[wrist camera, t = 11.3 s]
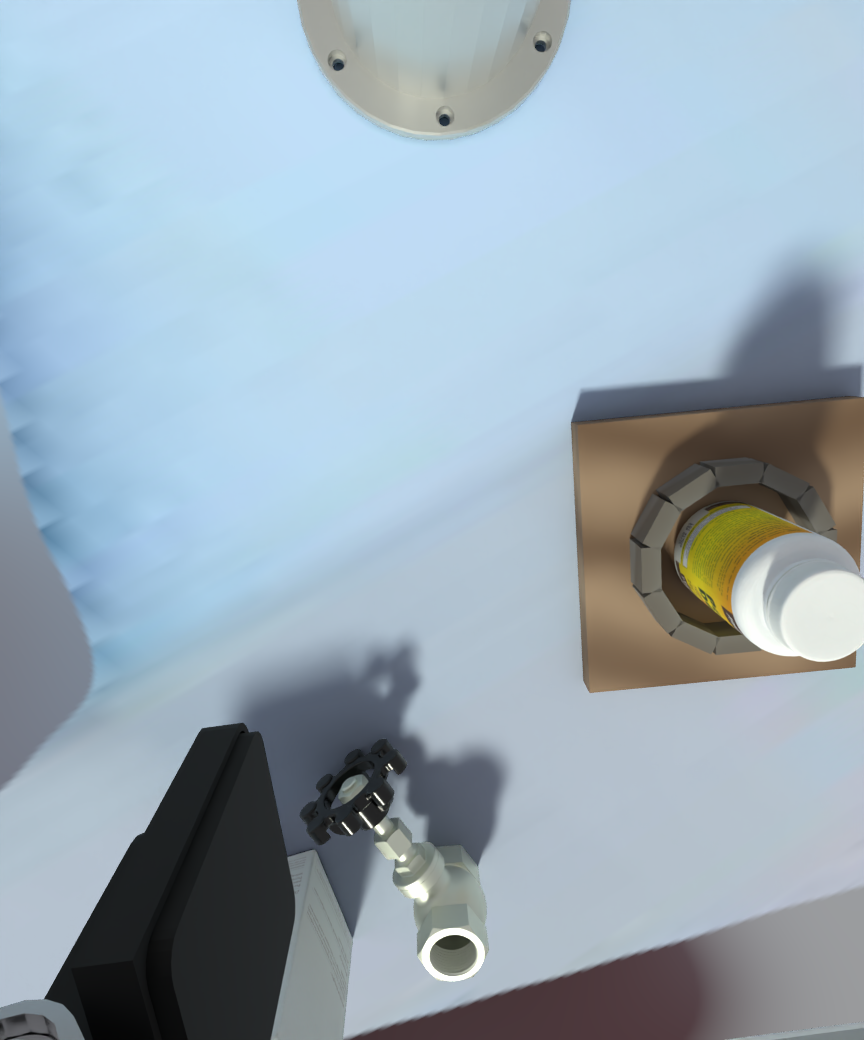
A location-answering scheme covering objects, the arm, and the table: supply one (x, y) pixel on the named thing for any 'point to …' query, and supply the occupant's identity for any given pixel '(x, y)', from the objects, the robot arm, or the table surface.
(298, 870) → the supplement box
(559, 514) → the table surface
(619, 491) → the collar plate
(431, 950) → the valve
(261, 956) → the robot arm
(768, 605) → the supplement bottle
